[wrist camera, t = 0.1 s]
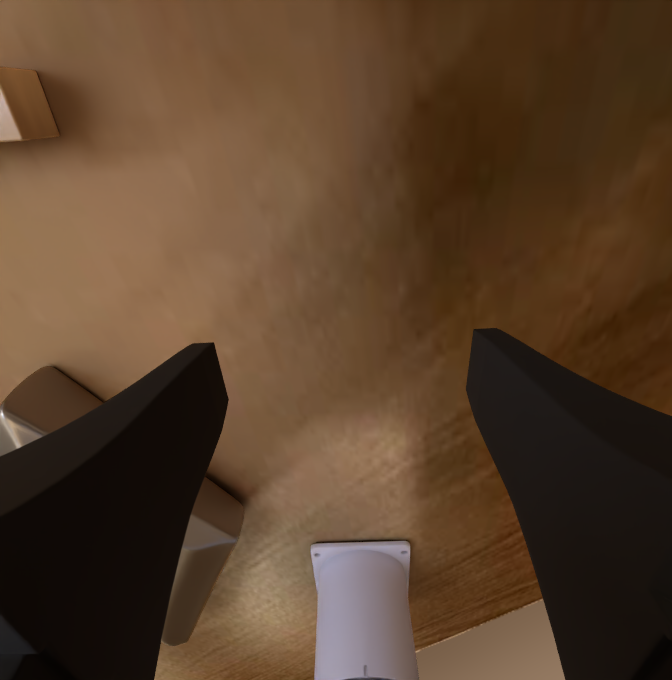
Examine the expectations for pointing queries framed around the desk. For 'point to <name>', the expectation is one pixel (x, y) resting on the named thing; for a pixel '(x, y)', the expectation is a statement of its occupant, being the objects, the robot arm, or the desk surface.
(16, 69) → the rail
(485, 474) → the desk surface
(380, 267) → the desk surface
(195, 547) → the emblem
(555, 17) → the desk surface
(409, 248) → the desk surface
